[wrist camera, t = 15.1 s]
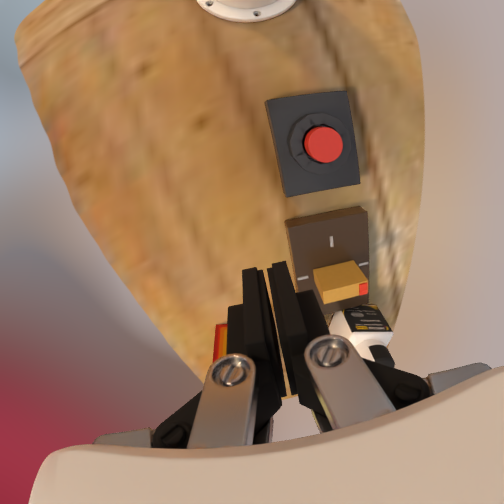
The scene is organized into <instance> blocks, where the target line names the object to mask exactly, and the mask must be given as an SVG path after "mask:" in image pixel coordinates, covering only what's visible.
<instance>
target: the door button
mask: <svg viewBox="0 0 504 504" xmlns="http://www.w3.org/2000/svg"><path fill="white" fill-rule="evenodd" d="M304 145H305V149H306V151H307V153H308V154H309V155H310V156H311V157H312V158H314V159H316V160H317V161H320V162H324V163H328V162H332V161H334V160H336V159H337V158H338V157H339V156H340V154H341V152H342V149H343V142H342V139H341V137H340V135H339V134H338V132H336V131H335V130H334V129H332V128H328V127H316V128H313V129H312V130H310V131H309V132H308V133H307V135H306V137H305V141H304Z"/></svg>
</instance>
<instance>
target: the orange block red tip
mask: <svg viewBox="0 0 504 504" xmlns="http://www.w3.org/2000/svg"><path fill="white" fill-rule="evenodd" d="M313 274H314V282H315V284H316V286H317V289H318V291H319V293H320V296H321V298H322V300H323V303H324V304H327V303H331V302H335V301H339V300H343V299H347V298H351V297H355V296H359V295H364V294H367V293H368V279H367V278H366V277H365V275H364V274H363V272H362V271H361V270H360V268H359V267H358V266H357V264H356V263H355V261H354V260H352V261H348V262H344V263H339V264H335V265H331V266H326V267H322V268H318V269H313Z"/></svg>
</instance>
